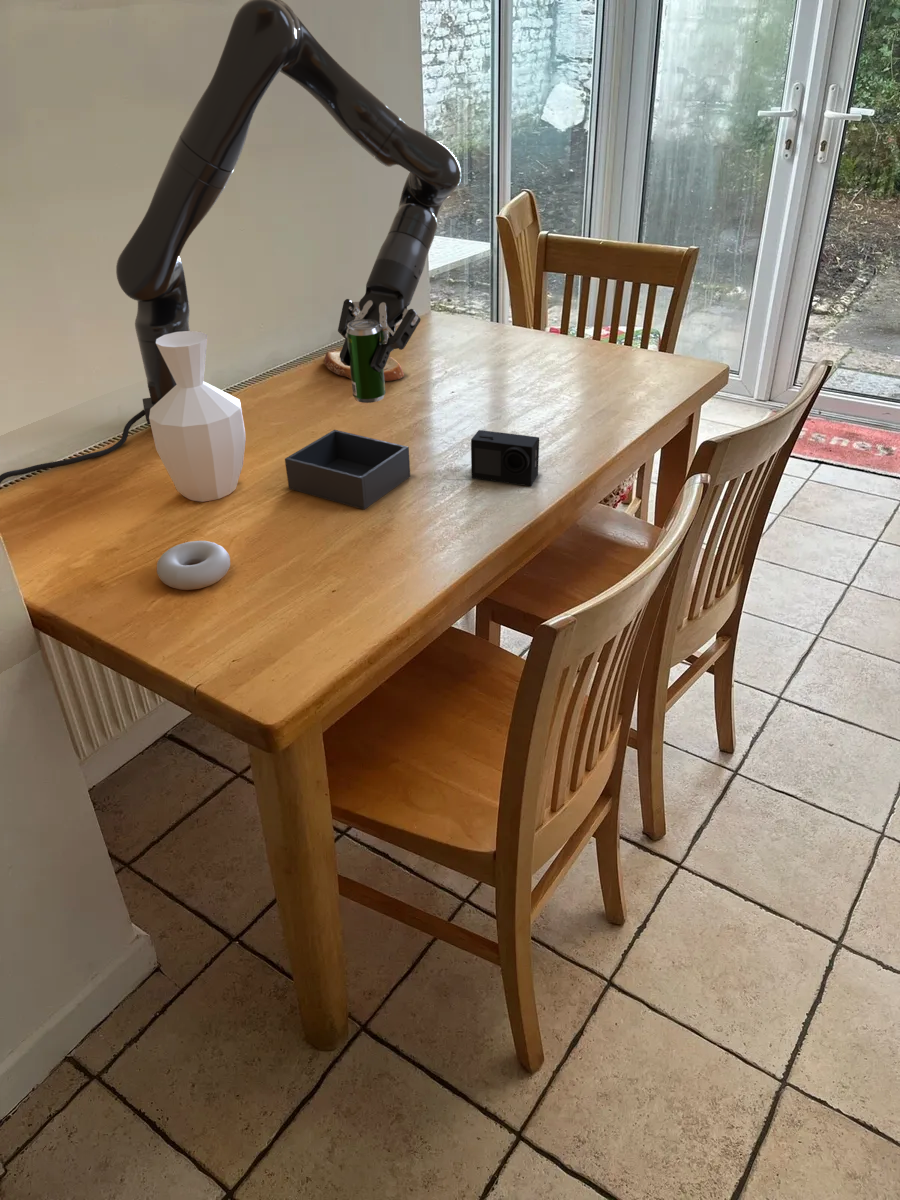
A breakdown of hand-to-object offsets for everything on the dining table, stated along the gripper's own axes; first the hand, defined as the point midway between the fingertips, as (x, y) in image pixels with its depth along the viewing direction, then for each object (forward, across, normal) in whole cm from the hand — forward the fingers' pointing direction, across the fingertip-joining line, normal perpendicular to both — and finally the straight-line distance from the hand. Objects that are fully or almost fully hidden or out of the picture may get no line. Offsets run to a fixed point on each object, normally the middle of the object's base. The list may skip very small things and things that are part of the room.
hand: (360, 366), depth 141 cm
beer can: (+3, 0, +6) cm, 6 cm away
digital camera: (+7, +22, +19) cm, 29 cm away
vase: (+26, -19, 0) cm, 32 cm away
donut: (+40, -2, -15) cm, 43 cm away
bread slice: (-16, -31, +42) cm, 54 cm away
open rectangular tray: (+17, 0, +9) cm, 19 cm away
